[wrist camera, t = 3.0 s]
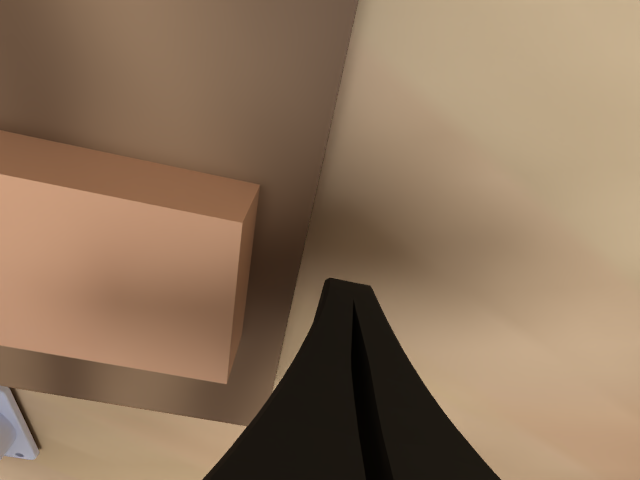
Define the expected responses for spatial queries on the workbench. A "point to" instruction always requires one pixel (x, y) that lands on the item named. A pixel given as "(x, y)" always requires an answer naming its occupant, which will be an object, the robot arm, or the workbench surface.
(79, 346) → the tile
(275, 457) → the robot arm
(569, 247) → the workbench surface
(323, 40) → the deck
